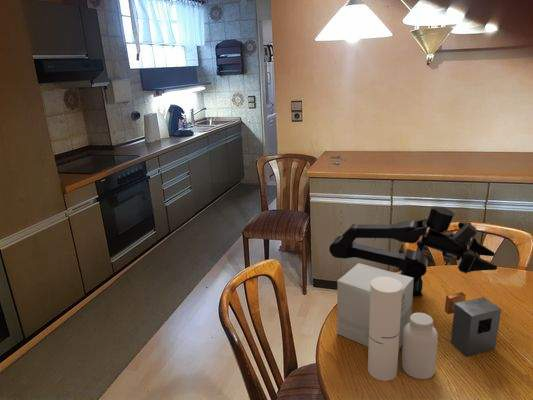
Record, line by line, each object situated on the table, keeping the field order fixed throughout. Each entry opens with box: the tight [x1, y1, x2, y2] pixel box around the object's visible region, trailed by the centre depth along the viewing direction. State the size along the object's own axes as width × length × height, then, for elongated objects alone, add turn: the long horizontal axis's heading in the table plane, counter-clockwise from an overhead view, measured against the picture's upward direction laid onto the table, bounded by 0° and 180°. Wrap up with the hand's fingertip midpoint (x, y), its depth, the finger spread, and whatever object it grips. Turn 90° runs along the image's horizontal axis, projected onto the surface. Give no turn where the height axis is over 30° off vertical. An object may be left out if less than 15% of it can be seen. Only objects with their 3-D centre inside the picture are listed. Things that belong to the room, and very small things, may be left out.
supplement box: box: [336, 262, 414, 351], centre depth 111 cm, size 17×13×18 cm
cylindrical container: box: [367, 277, 402, 382], centre depth 96 cm, size 7×7×25 cm
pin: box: [444, 291, 467, 315], centre depth 109 cm, size 8×5×5 cm, turn 15°
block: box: [450, 296, 502, 358], centre depth 105 cm, size 6×9×12 cm, turn 105°
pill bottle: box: [401, 312, 439, 380], centre depth 98 cm, size 8×8×15 cm
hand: (495, 261), depth 119 cm, fingers open, 9 cm apart
